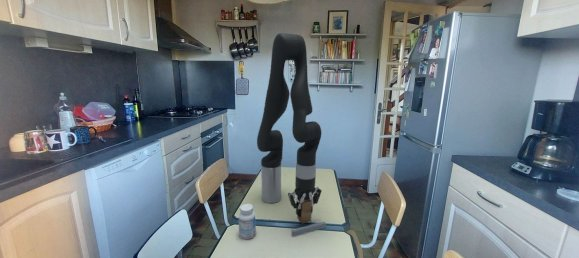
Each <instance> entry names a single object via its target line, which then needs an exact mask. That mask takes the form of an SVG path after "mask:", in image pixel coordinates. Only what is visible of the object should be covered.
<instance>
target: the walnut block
mask: <svg viewBox="0 0 579 258" xmlns="http://www.w3.org/2000/svg"><path fill="white" fill-rule="evenodd" d="M311 208H312V200H311V201H310V200H309V199H306V200H304V201H303V202H302V204H301V217H298V216H297V215H296V219H298V221H299V222H300V224H301V225H302V224H303V225H304V224H306V223H311V222H312V213H311Z"/></svg>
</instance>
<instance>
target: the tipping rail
mask: <svg viewBox="0 0 579 258" xmlns="http://www.w3.org/2000/svg"><path fill="white" fill-rule="evenodd" d="M326 228H327V222H326V221H321V222H316V223H313V224H309V225H306V226H305V225H304V226H301V227H297V228H294V229H291V236H292V237H297V236H301V235H305V234H307V233H311V232H315V231H318V230H321V229H326Z"/></svg>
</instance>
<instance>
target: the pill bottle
mask: <svg viewBox="0 0 579 258" xmlns="http://www.w3.org/2000/svg"><path fill="white" fill-rule="evenodd" d="M256 224H257V223H256V213H255V211H254V206H253V204H251V203H245V204H242V205H241V206H240V208H239V213H238V233H239V237H240V238H241V239H244V240H249V239H253V238H254V237H255V236H256V234H257V227H256Z"/></svg>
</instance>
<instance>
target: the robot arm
mask: <svg viewBox="0 0 579 258" xmlns="http://www.w3.org/2000/svg"><path fill="white" fill-rule="evenodd" d="M270 60H271V61H270V62H271V63H270V71H269V72H270V73H269V79H268V84H267V90H266V95H265V101H264V107H263V114H262V119H261V123H260V125H259V128H258V132H257V136H256V146H257V149H258V151H259V152H261V153H267V154H266V155H265V156H263V157H262V158H261V160H260V163H261V164H260V169H261V170H260V171H261V200H262V202H263V203H267V204H276V203H279V202H280V201H281V200H282V160H283V148H284V138H283V134H282V132H281V131H280V130H278V129H274V130H273V127H274V126H275V124H277V121H278V120H280V118H281V117H282V116H283V115H284V113H285V112H286V110H287V109H288V103H289V98H290V103H291V107H292V108H291V109H292V111H293V112H292V113H293V114H292V116H293V117H292V129H291V130H292V136H293V138H294V140H295V141H296V142H298V143H300V144H303V143H304V144H303V145H301V146H300V147H298V148H297V150H296V166H295V182H294V183H295V189H294V191H293V192H288V193H287V196H288V199H289V200H288V201H289V202H290V205H291V206H292V207H293V209H295V214H296V217H297V216H298V217H301V204H302V202H303V201H304V200H306V199H309V200H310V201H311V200H312V208H311V214H312V213H313V211H314V205H317V204H318V203H319V199H320V196H321V194H322V188H319V187H318V186H317V187H316V177H317V167H316V163H317V162H316V159H317V151H318V148H319V145H320V141H321V138H322V129H321V125H320V124H319V123H318V122H317V121H307V116H310V115H311V114H312V113H313V105H312V100H311V95H310V90H309V81H308V56H307V45H306V41H305V39H304V37H303V36H302V35H301V34H297V33H296V34H295V33H284V32H283V33H282V32H279V33H278V34H276V35H275V37H274V39H273V42H272V49H271V59H270ZM286 61H293V65H294V69H295V72H294V77H293V80H292V84H291V87H290V89H289V85H288V83H287V81H286V78H285V75H284V74H285V64H286ZM306 121H307V122H306ZM295 199H296V201H295Z"/></svg>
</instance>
